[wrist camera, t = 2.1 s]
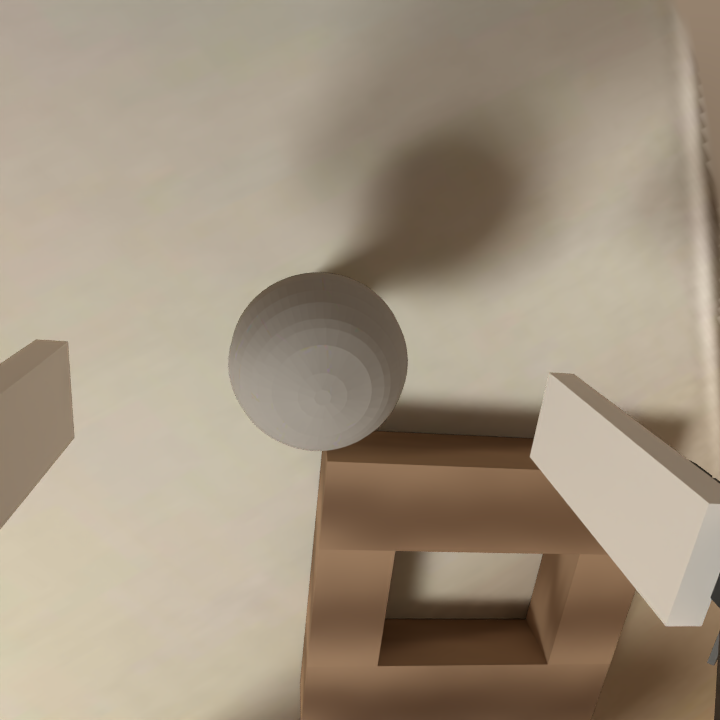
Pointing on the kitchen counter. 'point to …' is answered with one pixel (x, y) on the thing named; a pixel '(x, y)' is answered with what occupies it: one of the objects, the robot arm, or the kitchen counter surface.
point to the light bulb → (318, 361)
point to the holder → (452, 636)
